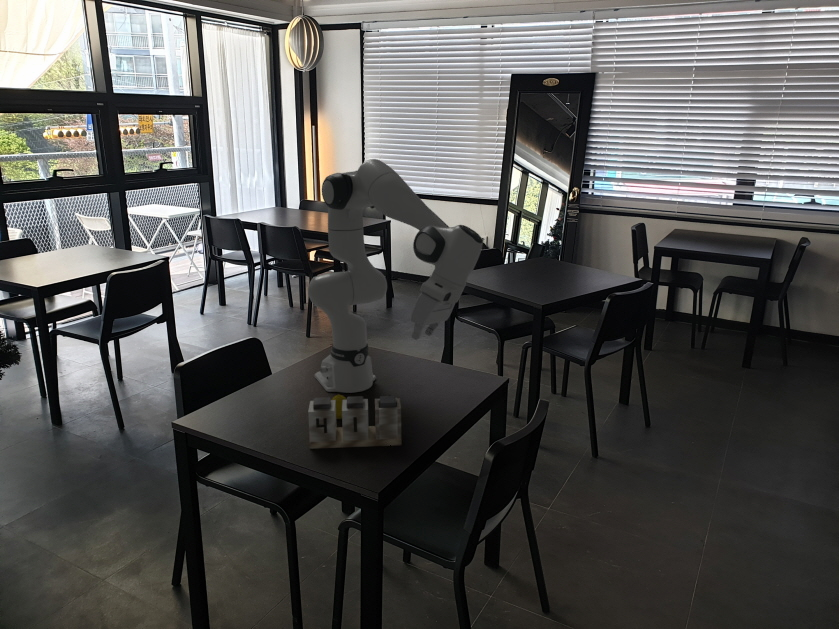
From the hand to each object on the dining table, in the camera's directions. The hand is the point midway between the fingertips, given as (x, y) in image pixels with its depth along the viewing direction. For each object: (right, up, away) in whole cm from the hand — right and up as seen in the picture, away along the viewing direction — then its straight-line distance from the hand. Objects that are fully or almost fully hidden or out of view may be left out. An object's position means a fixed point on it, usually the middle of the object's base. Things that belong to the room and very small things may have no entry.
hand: (421, 336), depth 166 cm
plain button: (-9, -24, +14) cm, 29 cm away
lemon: (-24, -26, +27) cm, 44 cm away
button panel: (-18, -29, +15) cm, 38 cm away
